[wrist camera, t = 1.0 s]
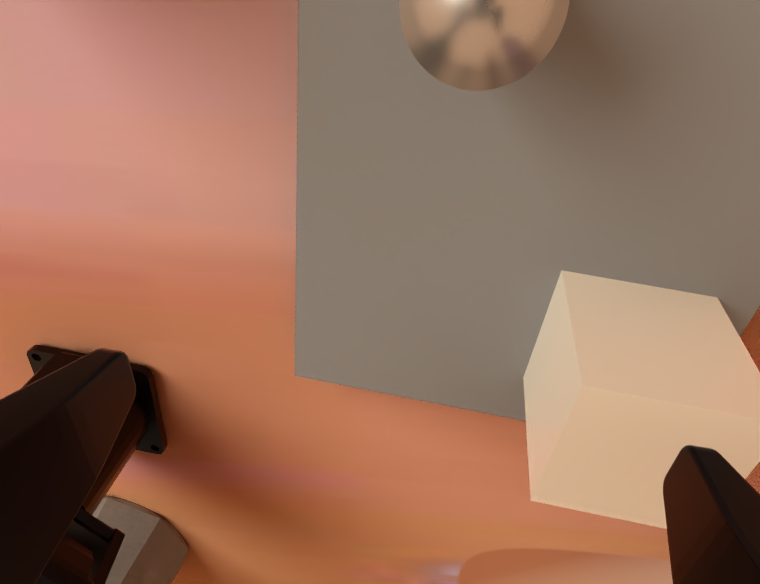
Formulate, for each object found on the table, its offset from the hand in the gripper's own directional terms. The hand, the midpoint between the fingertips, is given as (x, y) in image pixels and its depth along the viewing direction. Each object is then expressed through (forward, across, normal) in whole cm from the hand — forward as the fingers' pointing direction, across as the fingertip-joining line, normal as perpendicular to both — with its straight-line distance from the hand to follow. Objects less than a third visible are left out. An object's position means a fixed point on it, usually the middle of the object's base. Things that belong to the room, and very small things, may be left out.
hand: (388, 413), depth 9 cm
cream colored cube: (+11, -7, +6) cm, 14 cm away
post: (+12, 0, -5) cm, 13 cm away
